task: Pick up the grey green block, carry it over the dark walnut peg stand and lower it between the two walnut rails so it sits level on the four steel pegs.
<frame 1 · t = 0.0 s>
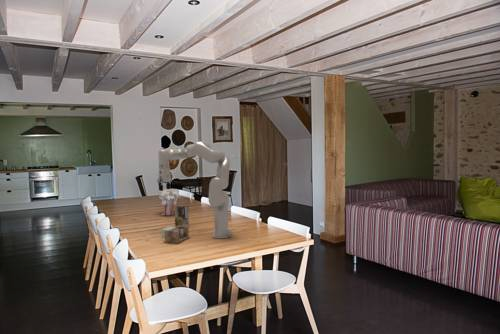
hand: (164, 189, 268), 31 cm above the table, fingers open, 9 cm apart
grey green block: (169, 236, 257), on the table
peg stand: (177, 240, 245), on the table
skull: (169, 215, 334), on the table
coffee box: (182, 227, 286), on the table
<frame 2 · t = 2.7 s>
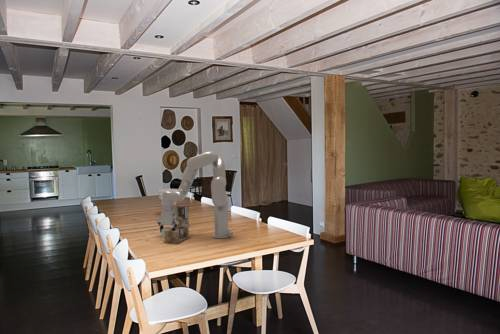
hand: (167, 232, 257), 3 cm above the table, fingers open, 9 cm apart
nothing on the table moved.
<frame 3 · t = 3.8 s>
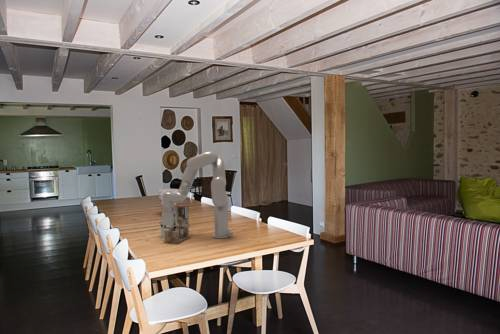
hand: (169, 234, 257), 1 cm above the table, fingers closed on grey green block, 6 cm apart
grey green block: (169, 236, 257), on the table, touching gripper
everything else where it was.
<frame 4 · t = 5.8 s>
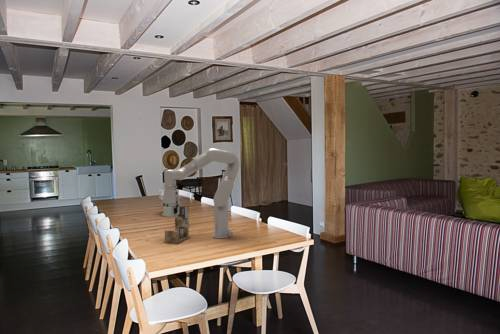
hand: (171, 213, 252), 17 cm above the table, fingers closed on grey green block, 6 cm apart
grey green block: (171, 214, 252), point 16 cm above the table, touching gripper
everything else where it was.
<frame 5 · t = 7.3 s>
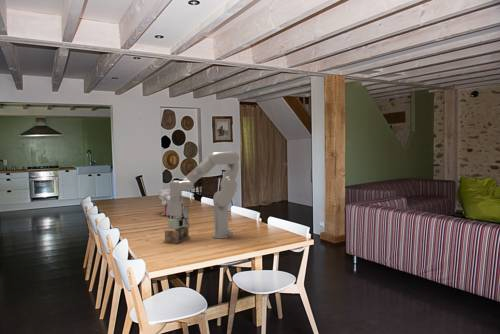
hand: (176, 225, 245), 10 cm above the table, fingers closed on grey green block, 6 cm apart
grey green block: (176, 227, 245), point 9 cm above the table, touching gripper
everything else where it was.
when the fingers open (9 cm above the table, at t = 8.3 s): grey green block stays where it is, resting on peg stand.
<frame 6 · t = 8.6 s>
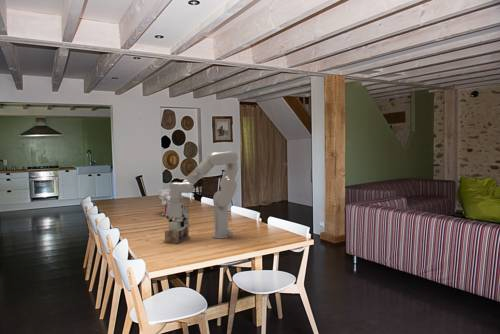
hand: (176, 226, 245), 10 cm above the table, fingers open, 8 cm apart
grey green block: (177, 230, 245), point 7 cm above the table, touching peg stand
everything else where it was.
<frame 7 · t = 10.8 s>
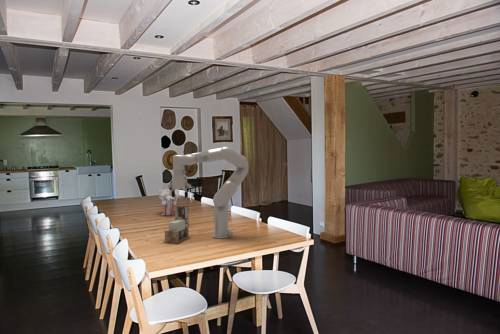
hand: (179, 197, 253), 28 cm above the table, fingers open, 9 cm apart
nothing on the table moved.
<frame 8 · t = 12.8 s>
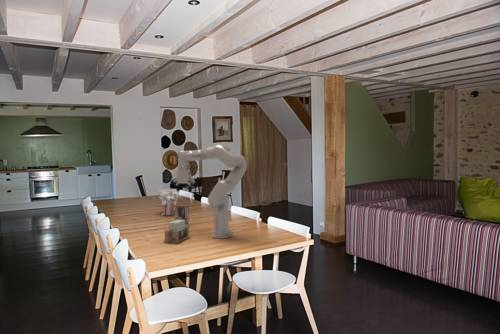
hand: (184, 191, 265), 30 cm above the table, fingers open, 9 cm apart
nothing on the table moved.
at the end: grey green block 0.1 cm off-centre on the peg stand, point 7.0 cm above the peg stand's base; grey green block tilted 0°; the gripper is holding nothing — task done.
